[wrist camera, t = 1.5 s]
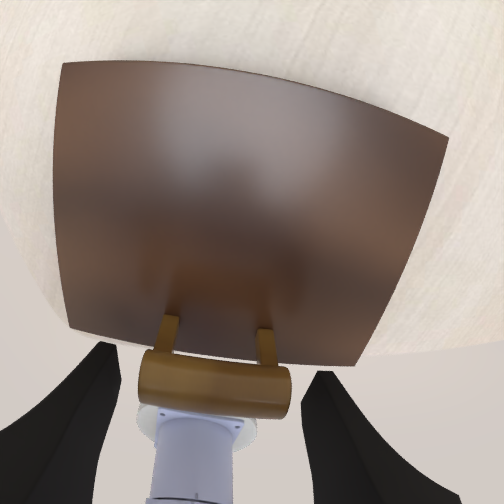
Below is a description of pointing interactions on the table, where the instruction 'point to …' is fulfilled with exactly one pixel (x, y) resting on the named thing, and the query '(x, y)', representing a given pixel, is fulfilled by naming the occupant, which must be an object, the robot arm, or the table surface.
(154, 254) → the box lid
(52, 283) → the table surface
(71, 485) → the robot arm
